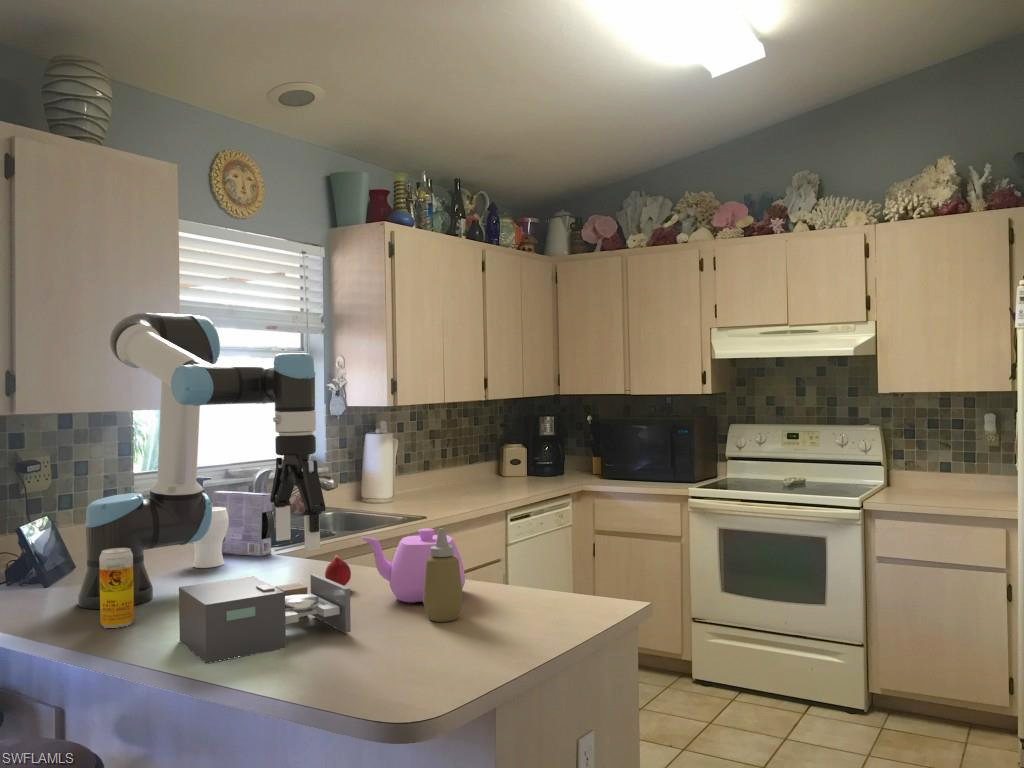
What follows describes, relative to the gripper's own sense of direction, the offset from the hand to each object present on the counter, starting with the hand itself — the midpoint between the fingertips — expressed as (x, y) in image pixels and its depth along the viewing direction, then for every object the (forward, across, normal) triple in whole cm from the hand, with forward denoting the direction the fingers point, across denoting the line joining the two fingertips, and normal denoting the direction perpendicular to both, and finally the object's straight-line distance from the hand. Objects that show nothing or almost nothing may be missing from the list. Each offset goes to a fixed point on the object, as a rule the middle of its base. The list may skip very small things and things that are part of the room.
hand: (297, 544), depth 164 cm
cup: (+17, -77, +8) cm, 79 cm away
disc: (+12, 0, 0) cm, 12 cm away
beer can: (+17, -29, -26) cm, 42 cm away
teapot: (+17, -7, +32) cm, 37 cm away
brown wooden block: (+17, -12, +4) cm, 21 cm away
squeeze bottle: (+17, +11, +26) cm, 33 cm away
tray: (+16, 0, 0) cm, 16 cm away
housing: (+17, 0, -13) cm, 21 cm away
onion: (+17, -26, +21) cm, 38 cm away
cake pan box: (+17, -87, +21) cm, 91 cm away
